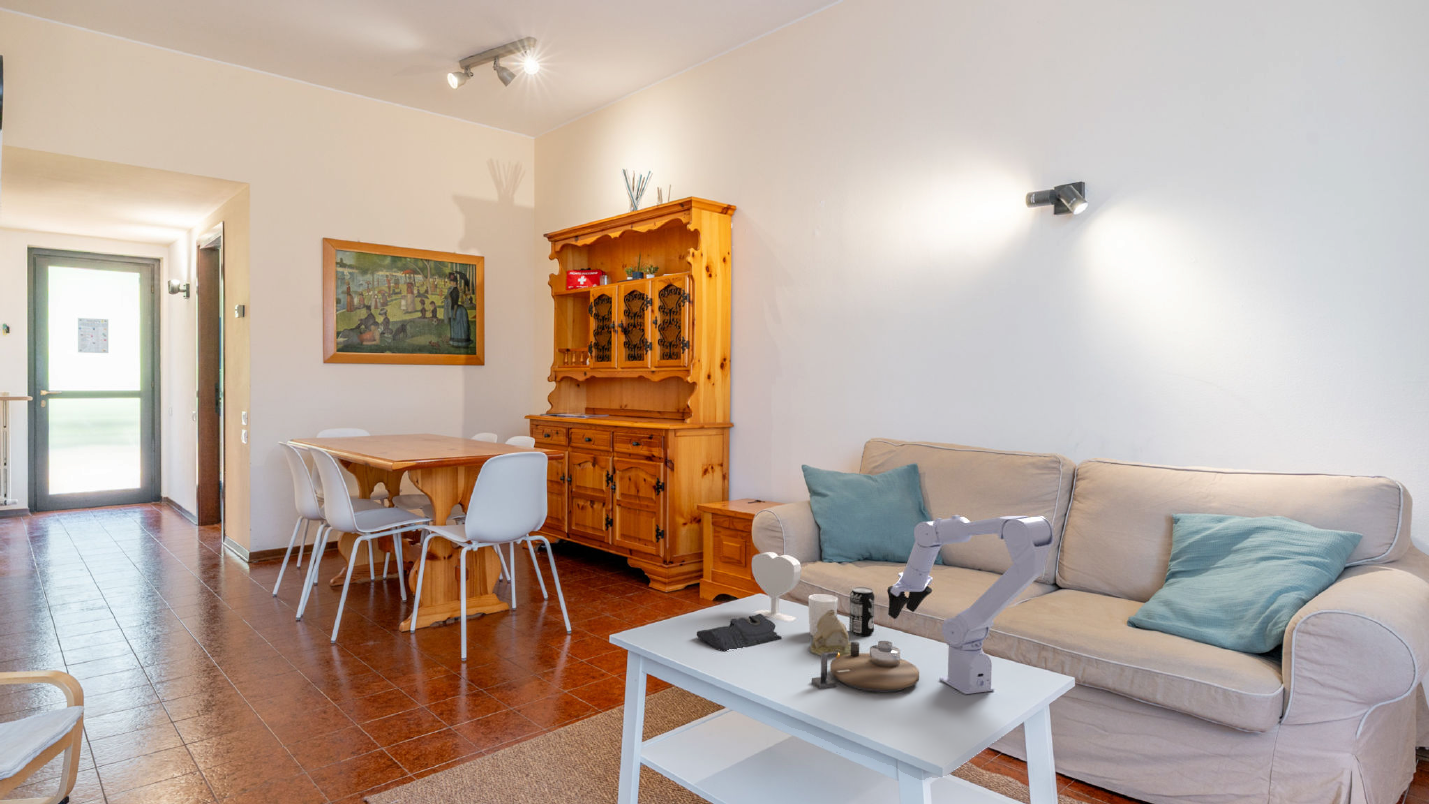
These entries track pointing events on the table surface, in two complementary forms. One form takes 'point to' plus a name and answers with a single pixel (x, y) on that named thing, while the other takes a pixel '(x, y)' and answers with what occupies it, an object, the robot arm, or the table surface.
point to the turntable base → (874, 689)
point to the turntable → (872, 671)
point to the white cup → (820, 608)
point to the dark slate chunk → (741, 633)
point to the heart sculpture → (775, 579)
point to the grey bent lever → (825, 672)
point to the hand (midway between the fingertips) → (901, 613)
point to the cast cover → (884, 655)
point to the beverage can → (861, 611)
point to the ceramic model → (831, 636)
